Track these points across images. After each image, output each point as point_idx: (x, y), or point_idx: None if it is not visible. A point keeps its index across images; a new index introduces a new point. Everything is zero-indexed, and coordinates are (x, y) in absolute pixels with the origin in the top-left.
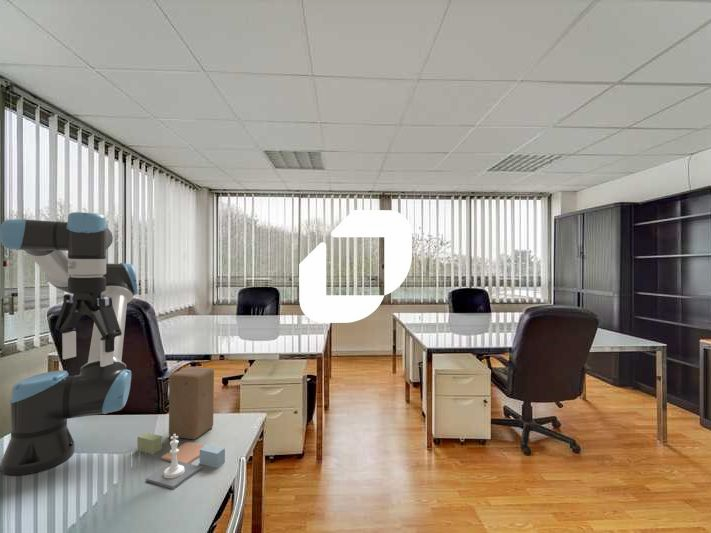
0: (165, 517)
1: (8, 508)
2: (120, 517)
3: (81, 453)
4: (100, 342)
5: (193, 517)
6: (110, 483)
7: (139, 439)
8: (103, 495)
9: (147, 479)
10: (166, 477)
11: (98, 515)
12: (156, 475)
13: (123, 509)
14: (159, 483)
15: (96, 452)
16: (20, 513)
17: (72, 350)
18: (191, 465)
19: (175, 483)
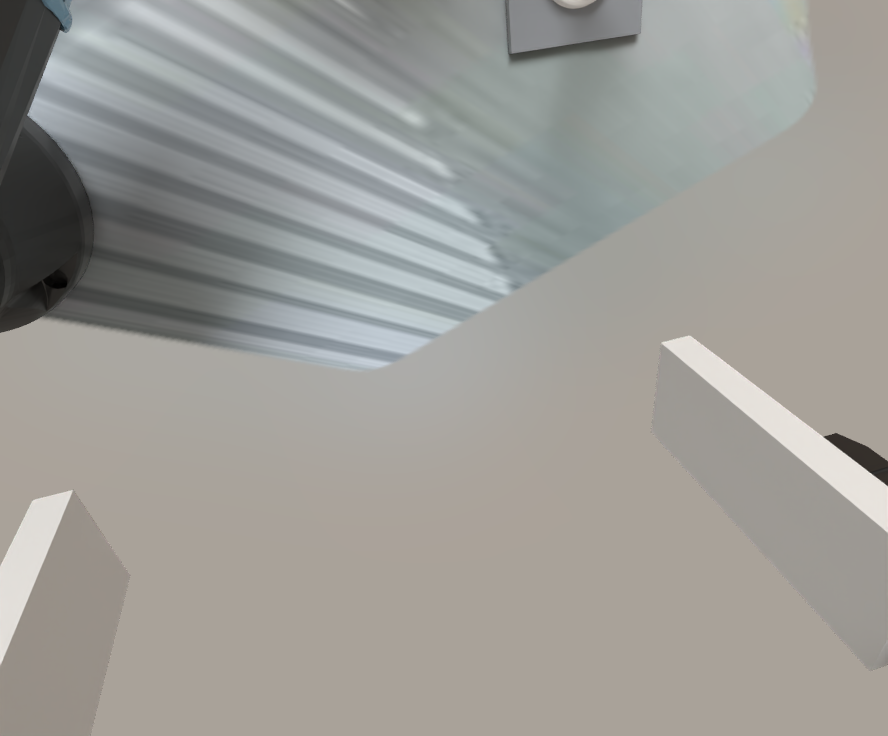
0: (706, 141)
1: (286, 355)
2: (595, 208)
3: None
4: (837, 629)
5: (777, 99)
6: (408, 134)
7: None
8: (457, 183)
9: (517, 51)
10: (579, 7)
11: (535, 236)
12: (528, 15)
13: (574, 186)
14: (575, 43)
15: None
16: (342, 344)
17: (71, 593)
18: None
19: (633, 14)
